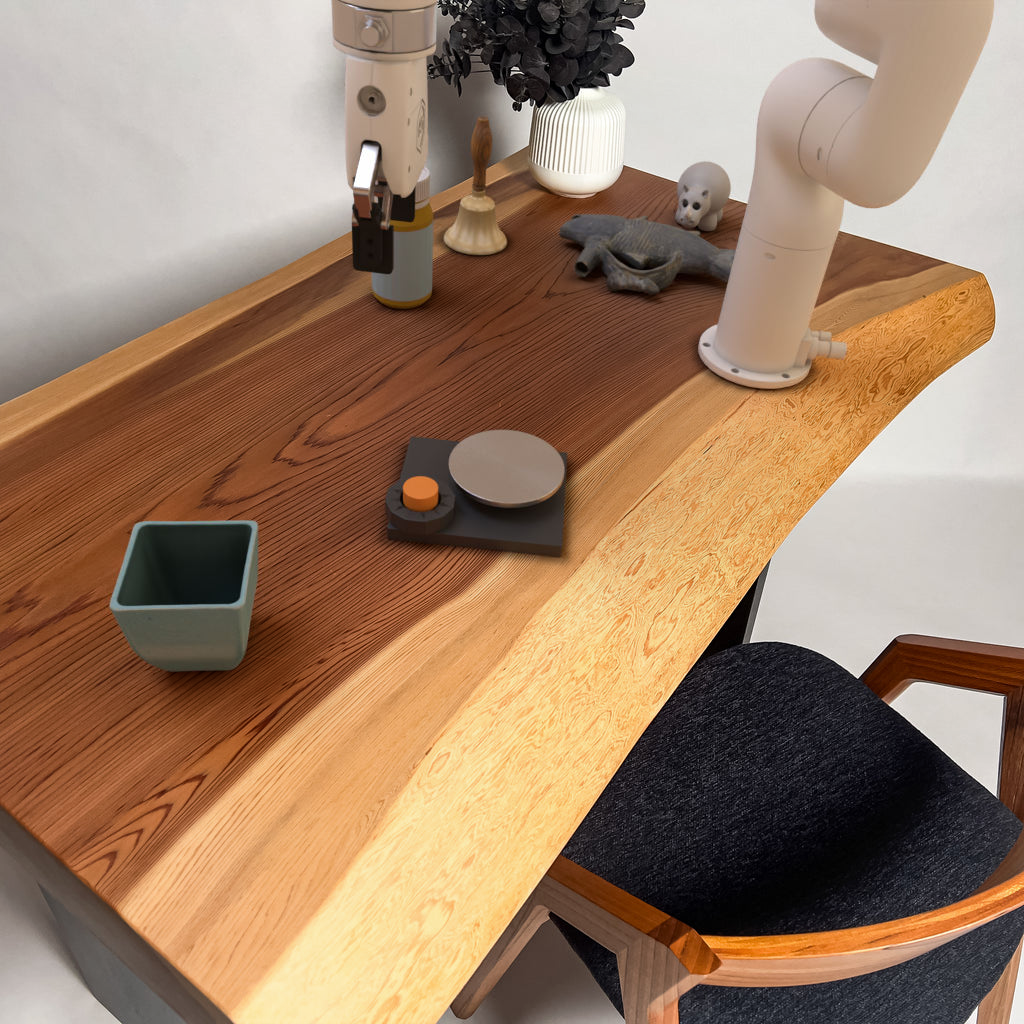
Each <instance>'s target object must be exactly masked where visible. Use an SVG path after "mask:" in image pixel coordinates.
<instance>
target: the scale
mask: <svg viewBox="0 0 1024 1024" xmlns="http://www.w3.org/2000/svg"><path fill="white" fill-rule="evenodd" d="M460 442H461V441H458V440H450V439H439V438H431V437H430V438H429V437H422V436H410V437H409V442H408V446H407V449H406V450H407V451H406V453H405V457H404V461H403V464H402V468H401V472H400V476H399V479H398V480H397V481H396V482H395V483H393V484H392V485H391V486H389V487H388V489H387V491H386V495H385V499H384V513H385V516H386V518H387V519H388V523H387V527H386V539H387V540H391V541H401V542H408V543H409V542H410V543H412V542H413V543H418V544H420V543H421V544H428V545H429V544H431V545H439V546H449V547H457V548H458V547H459V548H468V549H477V550H486V551H495V552H504V553H505V552H506V553H515V554H527V555H535V556H544V557H553V558H561V557H562V550H563V539H564V538H563V537H564V523H565V522H564V521H565V504H566V503H565V502H566V487H567V486H566V485H567V484H566V483H567V465H568V452H564V451H557V452H558V453H559V455H560V456H561V458H562V460H563V463H564V469H565V472H564V478H563V482H562V485H561V486H560V488H559V489H558V490H557V491H556V493H555V494H553V495H552V496H551V497H550V498H548V499H546V500H545V501H542V502H540V503H538V504H534V505H531V506H526V507H519V508H502V507H495V506H490V505H486V504H483V503H480V502H478V501H475V500H473V499H471V498H470V497H468V496H466V495H465V494H464V493H462V492H461V491H460V490H459V489H458V488H457V487H456V486H455V485H454V483H453V482H452V480H451V478H450V475H449V470H448V463H449V457H450V454H451V452H452V451H453V449H454V448H455V447H456V445H458V444H459V443H460ZM417 476H424V477H428V478H431V479H433V480H434V481H435V482H436V483H437V485H438V503H437V505H436V507H435V508H434V509H432V510H430V511H426V512H416V511H411V510H409V509H408V508H406V507H405V505H404V503H403V485H404V483H405V482H406V481H407V480H408V479H410V478H413V477H417Z"/></svg>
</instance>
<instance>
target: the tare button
mask: <svg viewBox="0 0 1024 1024" xmlns="http://www.w3.org/2000/svg"><path fill="white" fill-rule="evenodd" d="M403 503H404V505H405V507H406V508H408V509H409V510H411V511H416V512H426V511H430V510H432V509H434V508H435V507H436V505H437V503H438V485H437V483H436V482H435V481H434V480H433V479H431V478H428V477H424V476H417V477H413V478H410V479H408V480H407V481H406V482H405V483H404V485H403Z"/></svg>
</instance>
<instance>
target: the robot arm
mask: <svg viewBox="0 0 1024 1024" xmlns="http://www.w3.org/2000/svg"><path fill="white" fill-rule="evenodd" d="M330 2H331V25H332V29H331V30H332V44H333V47H335V49H337V50H338V51H340V52H341V53H343V54H345V79H344V80H345V81H344V144H345V145H344V146H345V147H344V148H345V149H344V151H345V170H346V180H347V185H348V186H349V188H350V189H351V190H352V195H353V203H352V205H351V210H352V211H351V212H352V213H351V248H352V251H351V252H352V267H353V269H354V270H355V271H358V272H366V273H371V274H372V273H380V274H391V273H392V271H393V268H394V225H389V224H390V220H395V221H403V222H413V221H414V218H415V197H416V183H417V181H418V179H419V177H420V175H421V172H422V170H423V168H424V166H426V162H427V159H428V156H429V107H428V106H429V103H428V97H429V96H428V94H429V89H428V62H427V61H428V60H427V57H429V56H432V55H433V54H435V52H436V50H437V29H438V27H437V26H438V24H437V23H438V0H331V1H330ZM994 9H995V0H814V10H813V12H814V13H813V14H814V21H815V23H816V25H817V28H818V30H819V31H820V32H821V33H822V34H823V36H825V38H827V39H828V40H829V41H831V42H833V43H834V44H835V45H837V46H839V47H841V48H842V49H843V50H846V51H848V52H850V53H852V54H854V55H856V56H858V57H860V58H862V59H864V60H866V61H867V62H870V63H872V64H874V65H875V66H877V67H876V71H875V73H874V77H870V76H868V75H866V74H865V73H862V71H861V72H860V71H859V70H857V69H855V68H853V67H851V66H849V65H846V64H845V63H842V62H840V61H837V60H834V59H830V58H825V57H807V58H802V59H798V60H797V61H796V60H795V61H793V62H791V63H790V64H788V65H787V66H785V67H784V68H783V69H782V70H780V71H779V72H778V74H776V76H774V78H773V79H772V81H771V82H770V83H769V85H768V86H767V88H766V90H765V92H764V95H763V97H762V99H761V103H760V106H759V110H758V114H757V121H756V133H755V152H754V153H755V155H754V164H753V165H754V166H753V173H752V178H751V185H750V190H749V195H748V199H747V204H746V208H745V213H744V215H743V216H744V217H743V219H742V223H741V227H740V230H739V231H740V232H739V236H738V240H737V244H736V247H735V250H736V252H735V256H734V260H733V264H732V268H731V272H730V276H729V280H728V283H726V284H727V285H726V288H725V294H724V297H723V301H722V306H721V308H720V309H721V310H720V313H719V317H718V322H717V324H714V325H712V326H711V327H708V328H707V329H706V330H705V331H703V333H702V334H701V336H700V338H699V342H698V346H697V352H698V355H699V357H700V360H701V361H702V362H703V364H704V365H705V366H706V367H707V368H708V369H709V370H710V371H712V372H713V373H715V374H716V375H718V376H719V377H721V378H723V379H725V380H727V381H730V382H732V383H734V384H737V385H741V386H745V387H749V388H757V389H766V390H772V389H773V390H775V389H783V388H788V387H791V386H794V385H797V384H799V383H801V382H802V381H803V380H805V379H806V378H807V376H808V375H809V372H810V371H811V367H812V364H813V363H812V360H815V359H816V358H819V357H820V358H826V359H831V360H841V361H844V360H845V358H846V356H847V353H848V343H847V342H846V341H845V342H844V341H836V340H832V332H831V331H825V330H824V331H823V330H818V331H817V330H811V328H810V326H809V325H810V323H811V321H812V320H811V319H812V316H813V314H814V313H813V312H814V311H815V310H814V309H815V306H816V303H817V302H818V301H817V300H818V297H819V294H820V291H821V288H822V284H823V281H824V279H825V275H826V273H827V269H828V266H829V264H830V259H831V256H832V253H833V251H834V250H833V249H834V246H835V243H836V241H837V238H838V235H839V233H840V229H841V225H842V222H843V217H844V211H845V210H844V209H845V201H847V202H849V203H851V204H853V205H855V206H856V207H857V206H858V207H860V208H865V209H880V208H885V207H887V206H890V205H892V204H894V203H896V202H897V201H899V200H901V199H902V198H903V197H904V196H905V195H906V194H907V193H909V192H910V191H911V189H913V187H914V186H915V185H916V184H917V183H918V181H919V180H920V179H921V177H922V175H923V174H924V172H925V171H926V169H927V167H928V166H929V164H930V163H931V161H932V159H933V157H934V156H935V152H936V151H937V148H938V147H939V144H940V142H941V140H942V138H943V136H944V134H945V132H946V130H947V127H948V125H949V123H950V121H951V119H952V117H953V114H954V113H955V111H956V108H957V107H958V104H959V103H960V101H961V98H962V96H963V94H964V92H965V89H966V87H967V85H968V83H969V81H970V78H971V76H972V74H973V72H974V70H975V68H976V66H977V63H978V61H979V59H980V58H981V54H982V52H983V50H984V47H985V45H986V43H987V40H988V37H989V35H990V32H991V28H992V23H993V19H994ZM376 181H378V185H375V182H376ZM374 196H376V197H378V203H375V202H374V198H375V197H374Z"/></svg>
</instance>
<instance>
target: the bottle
mask: <svg viewBox="0 0 1024 1024" xmlns="http://www.w3.org/2000/svg"><path fill="white" fill-rule="evenodd" d="M375 185H378V181H376V182H375ZM430 193H431V173H430V170H429V169H428V168H427V167H426V165H424V168H423V170H422V172H421V175H420V177H419V179H418V181H417V183H416V197H415V218H414V221H413V222H403V221H395V220H390V224H389V225H394V268H393V271H392V273H391V274H380V273H372V272H371V287H372V290H371V291H372V294H373V296H374V297H375V298H376V299H377V300H378V302H380V304H382V305H384V306H386V307H389V308H392V309H399V310H400V309H401V310H404V309H405V310H407V309H409V310H410V309H413V308H417V307H420V306H422V305H424V303H426V302H427V301H428V300H429V299H430V298H431V296H432V293H433V261H434V259H433V256H434V211H433V208H432V206H431V203H430ZM374 197H375V198H374V202H375V203H378V197H376V196H374Z"/></svg>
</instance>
